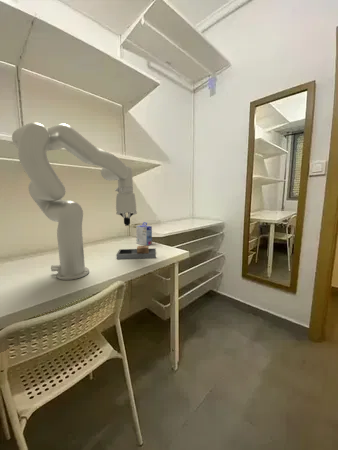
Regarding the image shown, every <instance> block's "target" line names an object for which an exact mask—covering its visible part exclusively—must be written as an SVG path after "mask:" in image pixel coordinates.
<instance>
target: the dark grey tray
mask: <svg viewBox="0 0 338 450" xmlns="http://www.w3.org/2000/svg"><path fill="white" fill-rule="evenodd" d="M156 254H157V248H155V247H153V248H149V253H137V248H127V249H126V248H125V249H118V251H117V252H116V255H115V256H116V259H117V260H130V259H131V260H132V259H133V260H134V259H135V260H137V259H156V258H157V255H156Z"/></svg>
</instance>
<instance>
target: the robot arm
mask: <svg viewBox="0 0 338 450" xmlns="http://www.w3.org/2000/svg"><path fill="white" fill-rule="evenodd" d="M11 141H12V143H13V145H14V146H15V147H16V148H17V151H18V159H19V163H20V165H21V167H22V169H23V170H24V172H25V173H26V175H27V177H28V178H29V180H30V182H29V184H28V189H27V190H28V193H29V195H30V197H31V199H32V200H33V202H34V203H35V204H36V205H37V207H38V208H39V209H40V210H41V211H42V213H43V214H44V216H45V217H46V218H47V219H49V220H50V221H52V222H55V223H57V229H56V239H57V247H58V248H57V249H58V258H59V259H58V260H59V264H57V265H55V264H53V265H51V266H50V271H51V272H57V273H56V277H57V279H58V280H63V281H70V280H71V281H72V280H76V279H79V278H80V279H81V278H83V277H85V276H87V275H89V272H90V269H89V268H88V267H86V265H85V254H84V252H85V250H84V241H83V238H84V237H83V220H84V219H83V218H84V211H83V207H82V206H81V205H80V204H79V203H78V202H76V201H74V200H70V199H69V200H68V199H66V200H65V199H63V198H64V197H65V195H66V193H67V192H66V187H65V185H64V184H63V182H62V180H61V178H59V176H58V174H57V173H56V171H55V170H54V168H53V166H52V165H51V164H50V161H49V159H48V154H47V152H49V151H56V150H61V149H65V150H66V151H67V152H69V153H70V154H71V155H73V156H74V157H76V158H77V159H79V161H81V162H83V163H85V164H88V165H92V166H98V167H101V170H100V173H101V174H100V175H101V177H102V178H103V179H104V180H106V181H109V182H110V181H113V182H114V181H117V187H116V188H115V189H114V190H115V192H117V193H116V197H115V210H116V215H118V216H120V217H122V218H123V224H124V225H125V227H127V226H130V224H131V217H132V216H135V215H137V214H138V212H137V202H136V195H135V193H134V186H133V185H134V183H133V168H132V167H131V166H129V165H126V164H125V163H124V161H122V160H121V159H120V158H118V157H117V156H116V155H114V154H112V153H110V152H108V151H106V150H104V149H102V148H100V147H97V146H95V145H94V144H93V143H92V142H90V141H89V140H88V139H87V138H86V137H84V136H83V135H82V134H80V133H79V131H77V130H76V129H75V128H73V126H71V125H69V124H68V123H67V124H66V123H59V124H56V125H52V126H50V127H46V126H45V125H44V124H41V123H39V122H34V121H33V122H29V123H26V124H24V125H21V127H19V128H16V129H15V130H14V131H13V133H12V135H11ZM126 213H127V214H126ZM126 215H127V216H126Z"/></svg>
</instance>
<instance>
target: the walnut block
mask: <svg viewBox="0 0 338 450" xmlns="http://www.w3.org/2000/svg"><path fill="white" fill-rule="evenodd" d="M149 247H150V246H149V245H137V247H136V249H137V253H149V249H150V248H149Z"/></svg>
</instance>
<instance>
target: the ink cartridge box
mask: <svg viewBox="0 0 338 450" xmlns="http://www.w3.org/2000/svg"><path fill="white" fill-rule="evenodd" d="M135 227H136V228H135V229H136V232H135V233H136V235H135V236H136V244H138V245H140V246H151V245H153V233H152V232H153V231H152V230H153V229H152V228H153V226H150V225H148V222H145V221H143V222H142V224H141V225H137V226H135Z"/></svg>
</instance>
